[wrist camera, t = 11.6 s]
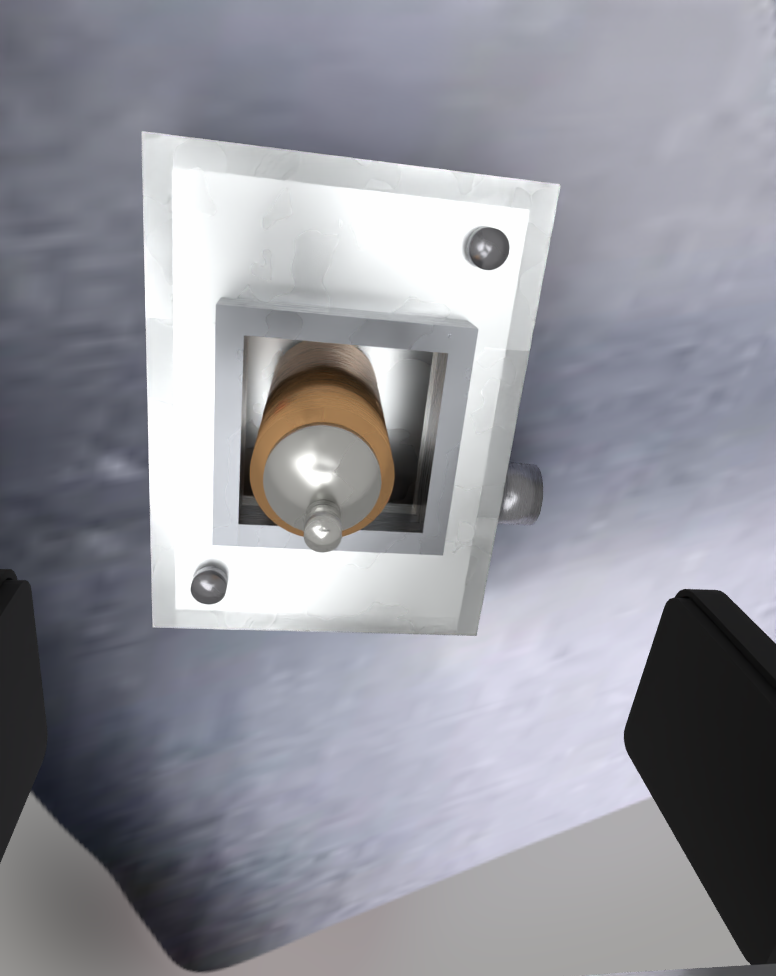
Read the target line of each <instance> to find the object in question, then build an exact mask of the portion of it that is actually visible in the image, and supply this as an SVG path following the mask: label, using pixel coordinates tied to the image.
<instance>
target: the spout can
mask: <svg viewBox="0 0 776 976" xmlns="http://www.w3.org/2000/svg"><path fill="white" fill-rule="evenodd" d="M394 478H395V471H394V463H393V457H392V453H391V448H390V443H389V438H388V433H387V428H386V423H385V418H384V414H383V409H382V404H381V399H380V394H379V389H378V384H377V379H376V375H375V372H374V369H373V367H372V365H371V363H370V362H369V360H368V359H367V358H366V356H365V355H364V354H363V353H362V352H361V351H360V350H359V349H357V348H356V347H355V346H353V345H348V344H336V343H325V342H313V341H302V342H300V343H298V344H296V345H295V346H293V347H292V348H291V349H289V350H288V351H287V352H286V353H285V354H284V355H283V357H282V358H281V359H280V361H279V362H278V364H277V366H276V368H275V371H274V375H273V378H272V382H271V386H270V390H269V393H268V397H267V401H266V405H265V409H264V412H263V416H262V420H261V424H260V428H259V431H258V435H257V439H256V443H255V447H254V450H253V454H252V458H251V463H250V483H251V488H252V491H253V494H254V497H255V499H256V501H257V503H258V504H259V506H260V508H261V509H262V510H263V512H264V513H265V514H266V515H267V516H268V517H269V518H270V519H271V520H272V521H273V522H274V523H275V524H277V525H278V526H280V527H281V528H283V529H285V530H287V531H288V532H291V533H293V534H296V535H298V536H302V537H304V541H305V543H306V545H307V546H308V547H309V548H310V549H311V550H313V551H315V552H319V553H326V552H330V551H332V550H334V549H336V548H337V547H338V546H339V544H340V542H341V540H342V537H343V536H347V535H350V534H352V533H354V532H357V531H359V530H361V529H362V528H364V527H365V526H367V525H368V524H369V523H371V522H372V521H373V520H374V519H375V518H376V517H377V516H378V515H379V514H380V513H381V512H382V510H383V509H384V508H385V506H386V504H387V502H388V501H389V498H390V496H391V493H392V490H393V486H394Z"/></svg>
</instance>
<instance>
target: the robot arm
mask: <svg viewBox="0 0 776 976" xmlns="http://www.w3.org/2000/svg"><path fill="white" fill-rule="evenodd" d="M624 743H625V747H626V750H627V753H628V755H629V757H630V758H631V760H632V762H633V764H634V765H635V767H636V769H637V771H638V772H639V774H640V776H641V778H642V779H643V781H644V783H645V785H646V786H647V788H648V790H649V792H650V793H651V795H652V797H653V799H654V800H655V802H656V804H657V806H658V807H659V809H660V811H661V812H662V814H663V816H664V818H665V820H666V821H667V823H668V825H669V827H670V828H671V830H672V832H673V834H674V835H675V837H676V839H677V841H678V842H679V844H680V846H681V848H682V849H683V851H684V853H685V854H686V856H687V858H688V860H689V862H690V863H691V865H692V867H693V868H694V870H695V872H696V874H697V876H698V877H699V879H700V881H701V883H702V884H703V886H704V888H705V890H706V891H707V893H708V895H709V897H710V898H711V900H712V902H713V904H714V905H715V907H716V909H717V911H718V912H719V914H720V916H721V918H722V919H723V921H724V923H725V924H726V926H727V928H728V930H729V931H730V933H731V935H732V937H733V938H734V940H735V942H736V944H737V945H738V947H739V949H740V951H741V952H742V954H743V955H744V957H745V959H746V960H747V961H748V962H749V963H750V964H751V965H745V966H729V967H712V968H695V969H678V970H663V971H645V972H630V973H613V974H598V975H582V976H776V644H775V643H774V642H773V641H772V640H771V639H770V638H769V637H768V636H767V635H766V634H765V633H764V632H763V631H762V630H761V629H760V628H759V627H758V626H757V625H756V624H755V623H754V622H753V621H752V620H751V619H750V618H749V617H748V616H747V615H746V614H745V613H744V612H743V611H742V610H741V609H740V608H739V607H738V606H737V605H736V604H735V603H734V602H733V601H732V600H731V599H730V598H729V597H728V596H727V595H726V594H724V593H723V592H722V591H718V590H697V589H684V590H681V591H679V592H678V593H677V595H676V596H675V598H672V599H669V600H668V601H667V603H666V605H665V607H664V610H663V613H662V616H661V619H660V622H659V625H658V628H657V631H656V634H655V637H654V640H653V644H652V647H651V650H650V653H649V656H648V659H647V662H646V665H645V668H644V671H643V674H642V677H641V680H640V683H639V686H638V689H637V692H636V696H635V699H634V702H633V705H632V708H631V711H630V714H629V717H628V720H627V723H626V726H625V730H624ZM46 746H47V724H46V716H45V707H44V698H43V689H42V680H41V671H40V662H39V653H38V645H37V636H36V627H35V618H34V609H33V600H32V591H31V586H30V584H29V582H28V581H26V580H17V576H16V574H15V572H14V571H13V570H11V569H0V862H1V860H2V858H3V855H4V853H5V850H6V848H7V846H8V843H9V841H10V838H11V836H12V834H13V831H14V829H15V826H16V824H17V821H18V819H19V817H20V814H21V812H22V809H23V807H24V805H25V802H26V800H27V797H28V795H29V793H30V790H31V788H32V786H33V783H34V781H35V778H36V776H37V774H38V771H39V769H40V766H41V764H42V762H43V759H44V755H45V751H46Z"/></svg>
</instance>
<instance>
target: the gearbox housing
mask: <svg viewBox="0 0 776 976" xmlns="http://www.w3.org/2000/svg"><path fill="white" fill-rule="evenodd" d="M142 173H143V218H144V262H145V307H146V351H147V396H148V440H149V485H150V529H151V574H152V618H153V627H162V628H200V629H238V630H276V631H314V632H352V633H391V634H429V635H467V636H477V630H478V625H479V619H480V614H481V609H482V603H483V598H484V593H485V587H486V582H487V577H488V571H489V566H490V561H491V555H492V550H493V545H494V539H495V534H496V528H497V524H517V525H533V524H534V523H535V522H536V521H537V519H538V517H539V514H540V511H541V506H542V500H543V482H542V476H541V472H540V470H539V468H538V466H537V465H535V464H522V463H509V459H510V454H511V448H512V443H513V437H514V432H515V427H516V421H517V416H518V411H519V405H520V400H521V395H522V389H523V384H524V379H525V373H526V368H527V363H528V357H529V352H530V346H531V341H532V336H533V330H534V325H535V320H536V314H537V309H538V304H539V298H540V293H541V288H542V282H543V277H544V272H545V266H546V261H547V255H548V250H549V245H550V239H551V234H552V229H553V223H554V218H555V213H556V207H557V202H558V197H559V191H560V186H561V184H554V183H546V182H538V181H530V180H522V179H514V178H506V177H498V176H491V175H483V174H475V173H467V172H459V171H451V170H443V169H435V168H428V167H420V166H412V165H404V164H396V163H388V162H380V161H372V160H364V159H357V158H349V157H341V156H333V155H325V154H317V153H309V152H301V151H294V150H286V149H278V148H270V147H262V146H254V145H246V144H238V143H231V142H223V141H215V140H207V139H199V138H191V137H183V136H175V135H167V134H160V133H152V132H144V131H142ZM302 341H313V342H325V343H336V344H348V345H353V346H355V347H356V348H357V349H359V350H360V351H361V352H362V353H363V354H364V355H365V356H366V358H367V359H368V360H369V362H370V363H371V365H372V367H373V369H374V372H375V375H376V379H377V384H378V389H379V394H380V399H381V404H382V409H383V414H384V418H385V423H386V428H387V433H388V438H389V443H390V448H391V453H392V457H393V463H394V471H395V478H394V486H393V490H392V493H391V496H390V498H389V501H388V502H387V504H386V506H385V508H384V509H383V510H382V512H381V513H380V514H379V515H378V516H377V517H376V518H375V519H374V520H373V521H372V522H371V523H369V524H368V525H367V526H365V527H364V528H362V529H361V530H359V531H357V532H354V533H352V534H350V535H347V536H343V537H342V540H341V542H340V544H339V546H338V547H337V548H336V549H334V550H332V551H330V552H326V553H319V552H315V551H313V550H311V549H310V548H309V547H308V546H307V545H306V543H305V541H304V537H302V536H298V535H296V534H293V533H291V532H288V531H287V530H285V529H283V528H281V527H280V526H278V525H277V524H275V523H274V522H273V521H272V520H271V519H270V518H269V517H268V516H267V515H266V514H265V513H264V512H263V510H262V509H261V508H260V506H259V504H258V503H257V501H256V499H255V497H254V494H253V491H252V488H251V483H250V463H251V458H252V454H253V450H254V447H255V443H256V439H257V435H258V431H259V428H260V424H261V420H262V416H263V412H264V409H265V405H266V401H267V397H268V393H269V390H270V386H271V382H272V378H273V375H274V371H275V368H276V366H277V364H278V362H279V361H280V359H281V358H282V357H283V355H284V354H285V353H286V352H287V351H288V350H289V349H291V348H292V347H293V346H295V345H296V344H298V343H300V342H302Z"/></svg>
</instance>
